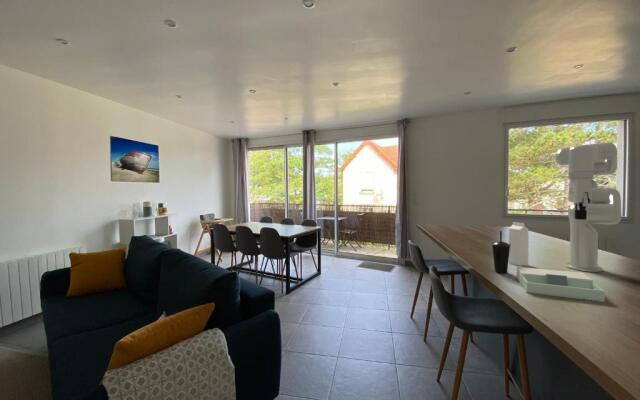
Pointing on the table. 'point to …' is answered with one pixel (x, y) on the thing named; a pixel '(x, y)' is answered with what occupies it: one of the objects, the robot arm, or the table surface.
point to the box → (563, 289)
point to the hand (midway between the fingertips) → (580, 219)
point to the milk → (518, 244)
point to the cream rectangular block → (542, 272)
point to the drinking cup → (501, 255)
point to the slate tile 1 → (556, 280)
